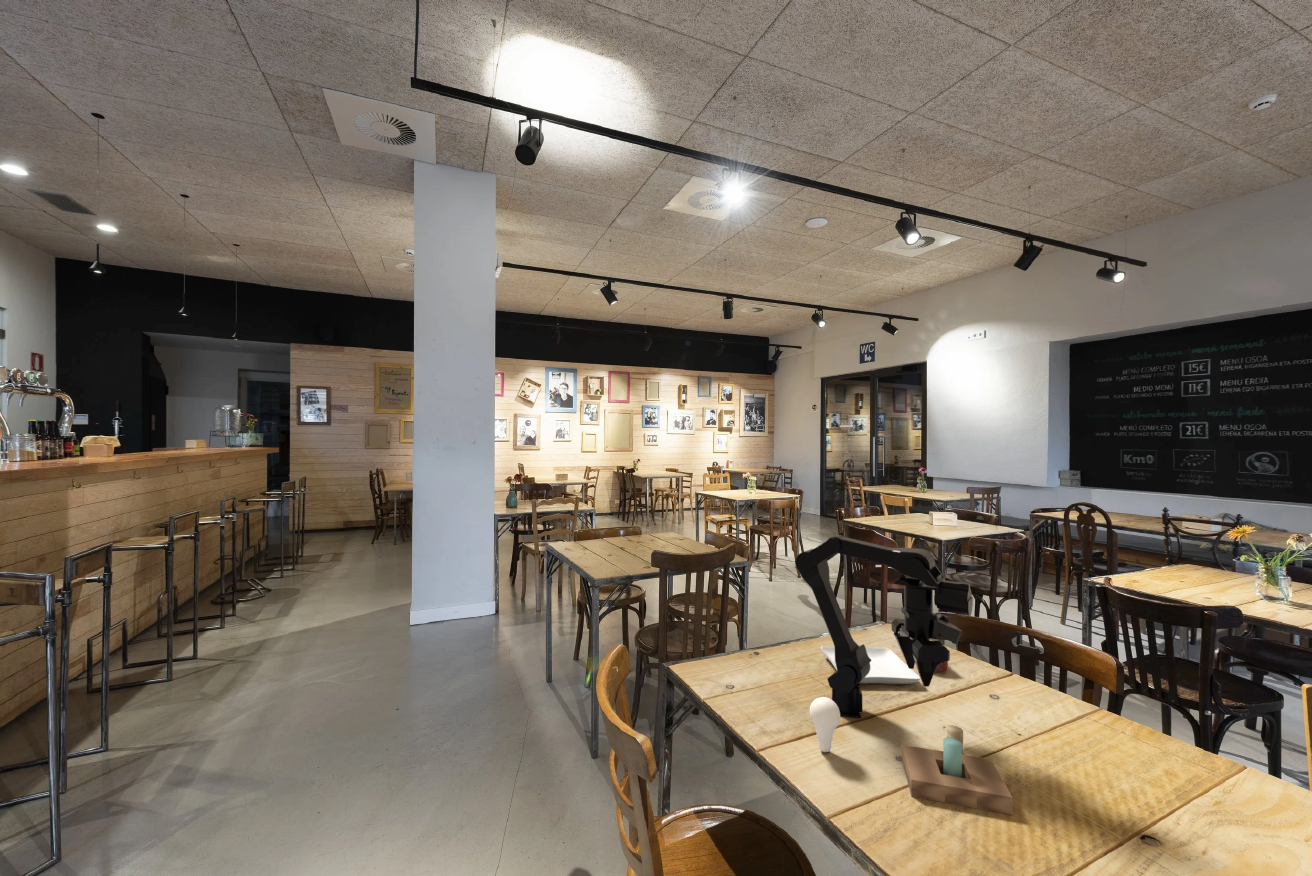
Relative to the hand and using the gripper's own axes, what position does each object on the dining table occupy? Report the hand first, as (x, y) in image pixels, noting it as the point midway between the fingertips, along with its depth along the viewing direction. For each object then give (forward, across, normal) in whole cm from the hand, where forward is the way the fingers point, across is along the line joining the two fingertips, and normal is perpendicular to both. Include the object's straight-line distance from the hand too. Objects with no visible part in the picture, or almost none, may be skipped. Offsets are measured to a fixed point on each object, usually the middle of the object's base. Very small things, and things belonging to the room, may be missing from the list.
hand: (918, 676), depth 118 cm
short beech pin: (+12, -7, -5) cm, 15 cm away
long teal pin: (+12, -18, 0) cm, 22 cm away
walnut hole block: (+12, -18, 0) cm, 22 cm away
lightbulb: (+13, -10, +22) cm, 28 cm away
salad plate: (+13, +33, +2) cm, 35 cm away
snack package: (+13, +45, -17) cm, 49 cm away
